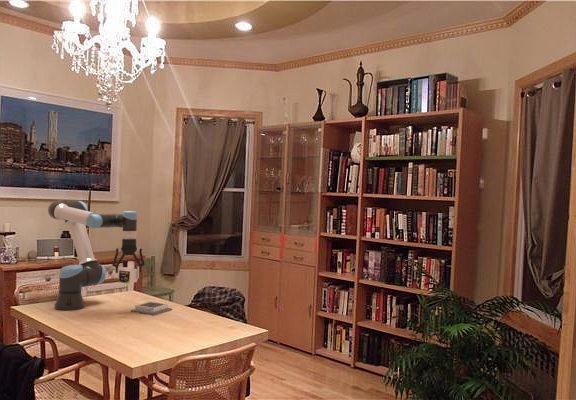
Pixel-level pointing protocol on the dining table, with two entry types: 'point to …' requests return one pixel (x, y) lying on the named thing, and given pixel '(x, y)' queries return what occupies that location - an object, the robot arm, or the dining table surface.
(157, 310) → the square holder
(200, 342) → the dining table surface
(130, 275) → the medicine bottle
